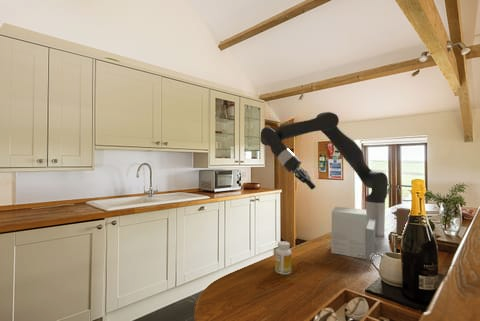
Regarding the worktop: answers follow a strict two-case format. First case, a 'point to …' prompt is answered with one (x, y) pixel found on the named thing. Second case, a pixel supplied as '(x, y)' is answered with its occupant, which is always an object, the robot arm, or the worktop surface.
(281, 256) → the supplement bottle
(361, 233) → the supplement box
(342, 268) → the worktop surface
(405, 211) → the wooden block
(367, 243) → the grey board
